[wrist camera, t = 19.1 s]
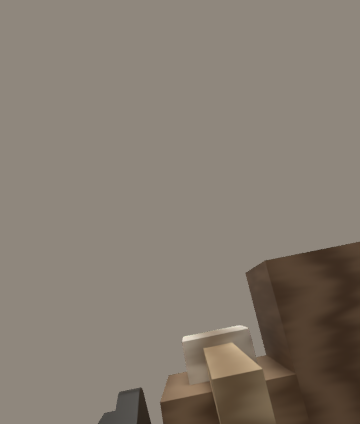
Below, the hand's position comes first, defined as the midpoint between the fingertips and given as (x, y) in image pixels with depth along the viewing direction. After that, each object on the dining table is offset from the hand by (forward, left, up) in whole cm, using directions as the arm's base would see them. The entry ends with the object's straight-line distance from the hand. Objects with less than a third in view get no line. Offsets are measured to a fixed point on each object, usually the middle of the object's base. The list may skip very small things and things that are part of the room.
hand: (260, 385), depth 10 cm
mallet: (0, -18, -4) cm, 19 cm away
